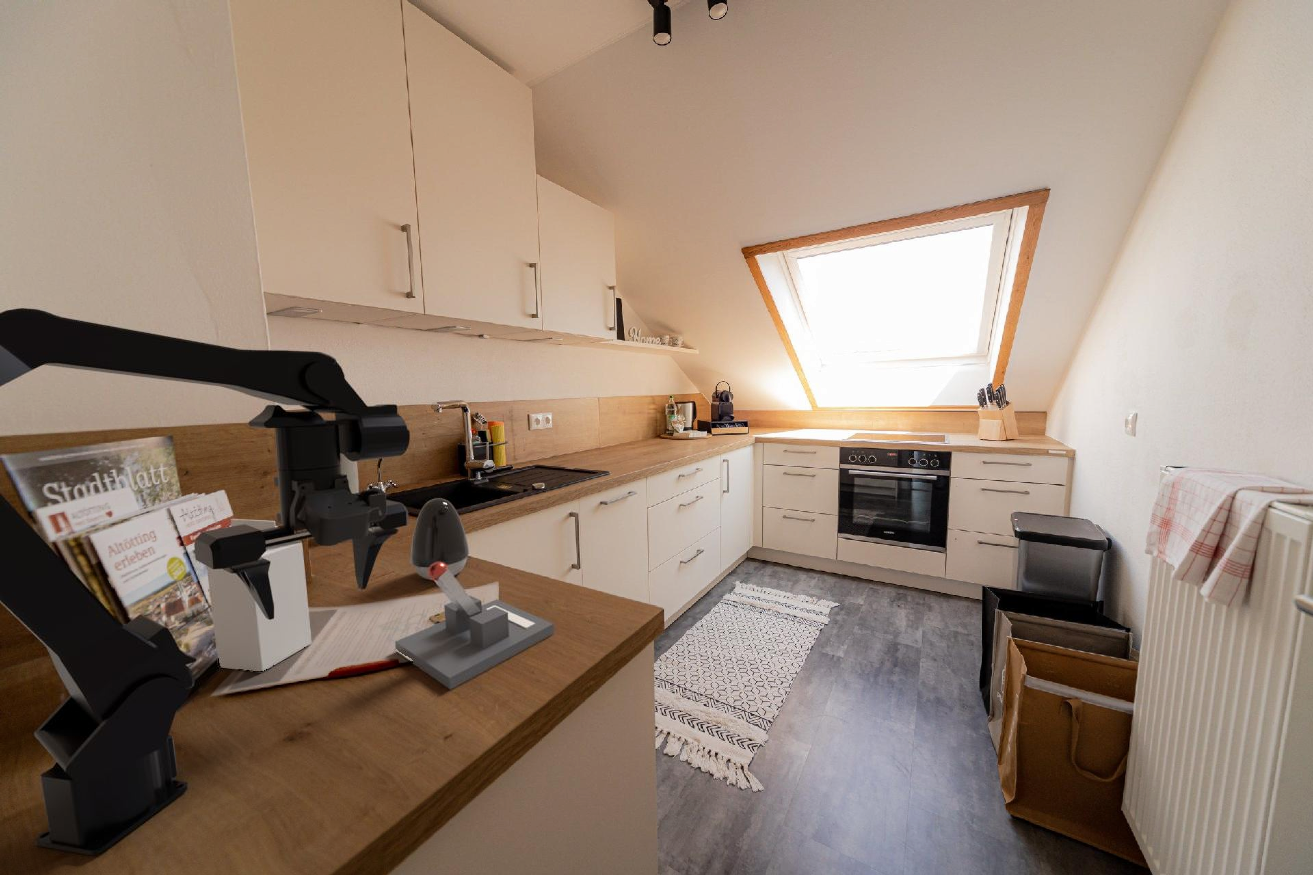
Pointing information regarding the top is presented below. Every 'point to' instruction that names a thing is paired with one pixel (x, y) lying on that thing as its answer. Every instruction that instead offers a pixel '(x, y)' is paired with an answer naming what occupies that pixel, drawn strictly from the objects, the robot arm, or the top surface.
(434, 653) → the switch box
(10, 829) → the top surface
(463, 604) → the switch lever
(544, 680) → the top surface
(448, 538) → the grey egg shaped device
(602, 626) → the top surface
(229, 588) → the milk carton
